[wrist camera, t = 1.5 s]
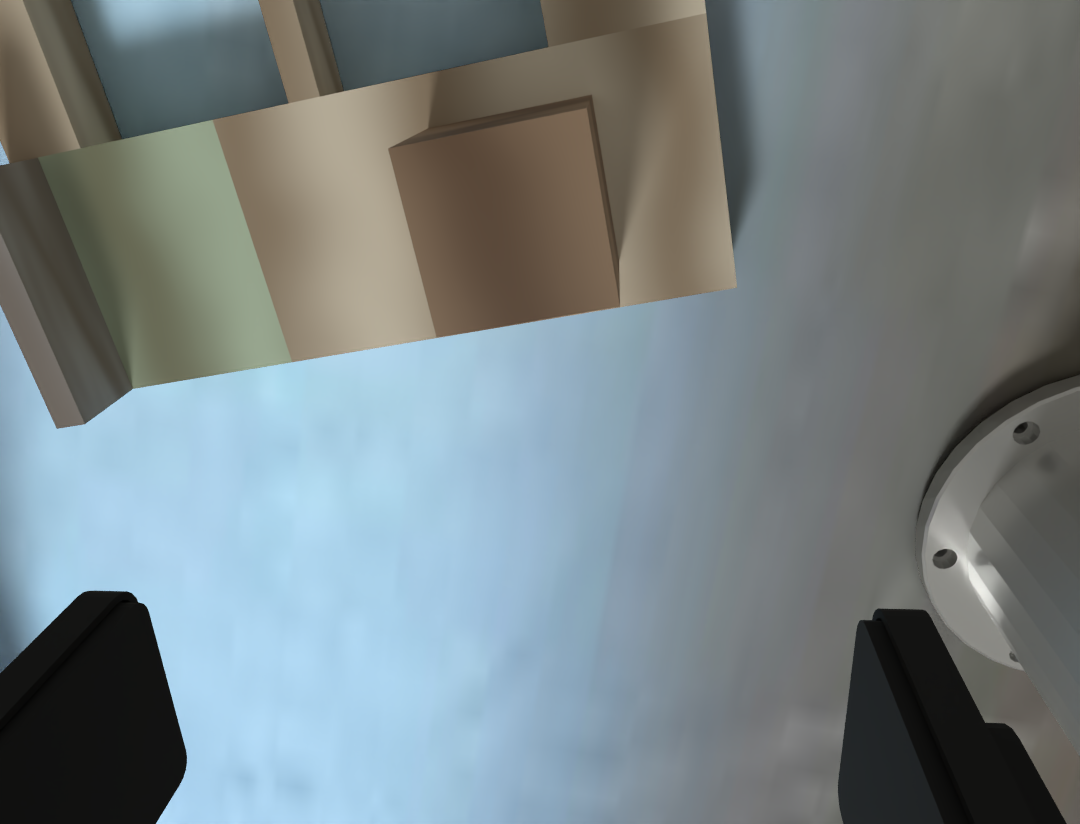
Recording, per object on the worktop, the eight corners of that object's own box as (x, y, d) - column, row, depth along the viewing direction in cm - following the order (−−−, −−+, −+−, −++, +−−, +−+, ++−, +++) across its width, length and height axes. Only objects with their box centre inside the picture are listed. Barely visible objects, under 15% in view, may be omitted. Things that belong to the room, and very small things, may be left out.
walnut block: (591, 94, 25) (586, 108, 21) (619, 260, 27) (619, 306, 22) (428, 128, 26) (387, 148, 21) (466, 287, 28) (436, 337, 23)
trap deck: (661, -305, 23) (674, -398, 18) (727, 267, 29) (750, 316, 24) (-50, -110, 27) (-205, -144, 22) (142, 368, 33) (56, 428, 28)
